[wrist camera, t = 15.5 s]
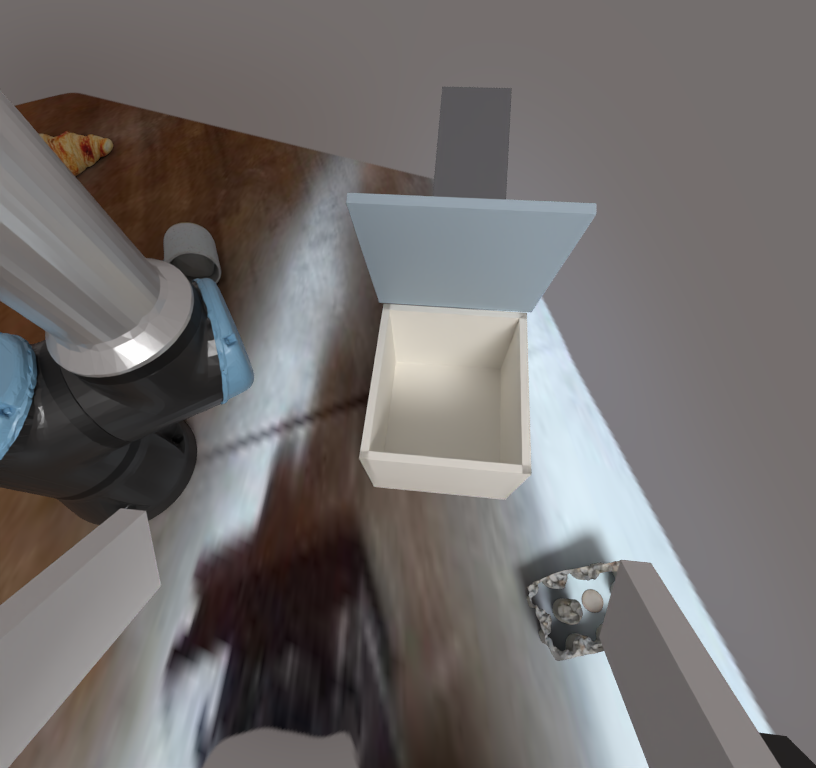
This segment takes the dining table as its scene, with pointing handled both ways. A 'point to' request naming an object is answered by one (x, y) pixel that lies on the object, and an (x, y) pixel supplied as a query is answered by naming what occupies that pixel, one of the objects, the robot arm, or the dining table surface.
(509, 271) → the lid
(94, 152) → the croissant
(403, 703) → the dining table surface
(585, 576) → the grey piece
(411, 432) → the storage box
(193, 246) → the ceramic mug
